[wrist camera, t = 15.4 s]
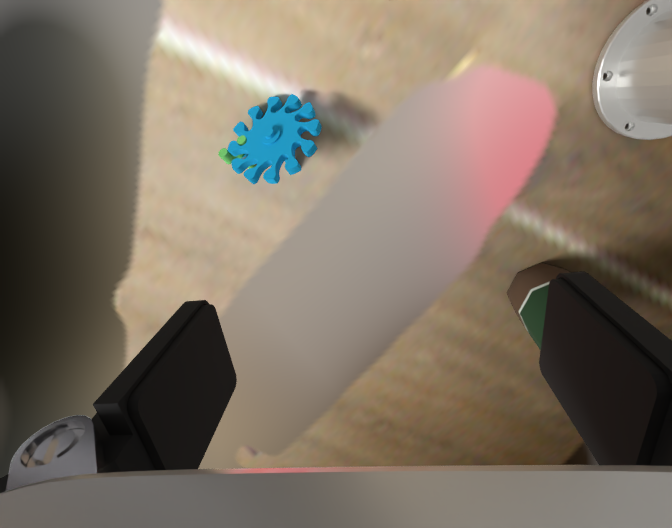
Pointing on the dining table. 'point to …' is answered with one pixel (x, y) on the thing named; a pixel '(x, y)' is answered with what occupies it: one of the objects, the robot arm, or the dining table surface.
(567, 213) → the dining table surface
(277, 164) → the gear
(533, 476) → the robot arm
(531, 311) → the beer bottle
